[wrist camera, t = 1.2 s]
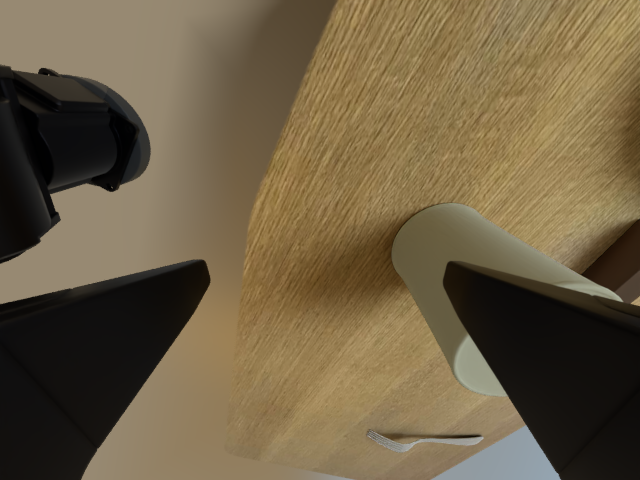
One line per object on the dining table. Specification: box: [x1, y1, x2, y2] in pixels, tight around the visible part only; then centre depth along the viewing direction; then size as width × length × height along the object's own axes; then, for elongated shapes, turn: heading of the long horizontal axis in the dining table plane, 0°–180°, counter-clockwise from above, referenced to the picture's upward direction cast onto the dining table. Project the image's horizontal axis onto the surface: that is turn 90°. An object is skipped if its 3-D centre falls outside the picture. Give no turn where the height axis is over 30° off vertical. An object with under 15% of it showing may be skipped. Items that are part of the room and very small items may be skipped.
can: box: [391, 203, 623, 397], centre depth 18 cm, size 9×9×12 cm
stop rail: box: [581, 219, 640, 304], centre depth 25 cm, size 3×18×3 cm, turn 161°
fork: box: [367, 430, 483, 453], centre depth 41 cm, size 3×21×3 cm, turn 80°
